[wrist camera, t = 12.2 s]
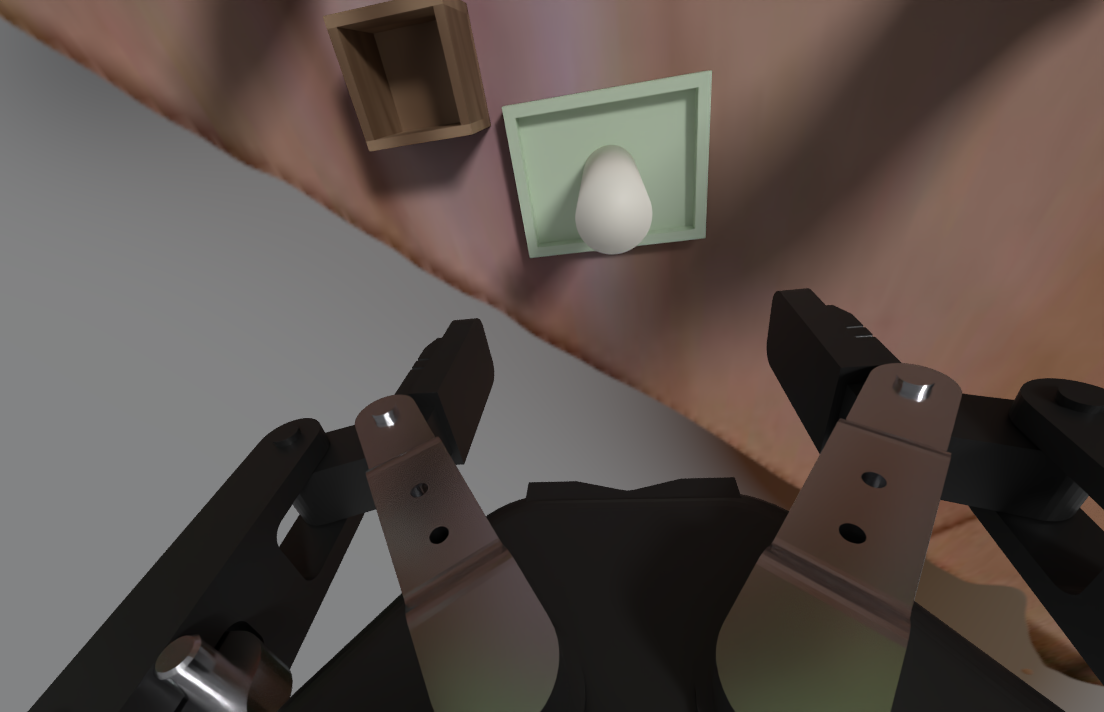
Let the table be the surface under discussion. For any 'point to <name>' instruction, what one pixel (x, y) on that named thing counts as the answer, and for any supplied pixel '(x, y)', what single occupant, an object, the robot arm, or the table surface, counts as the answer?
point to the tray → (629, 122)
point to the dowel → (612, 202)
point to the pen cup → (410, 71)
